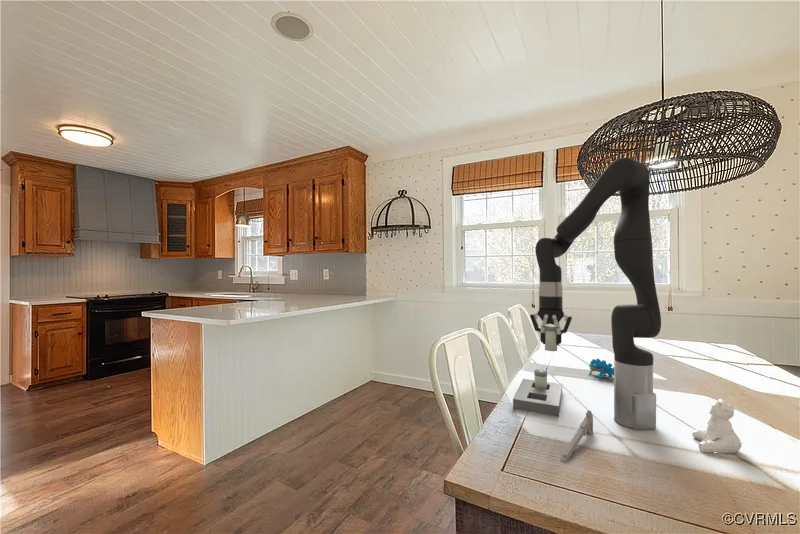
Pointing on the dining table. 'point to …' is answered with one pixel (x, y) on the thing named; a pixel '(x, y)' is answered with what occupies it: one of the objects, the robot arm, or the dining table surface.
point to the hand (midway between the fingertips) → (550, 343)
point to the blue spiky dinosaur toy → (601, 367)
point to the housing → (538, 395)
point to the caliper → (579, 435)
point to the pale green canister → (550, 338)
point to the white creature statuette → (719, 431)
